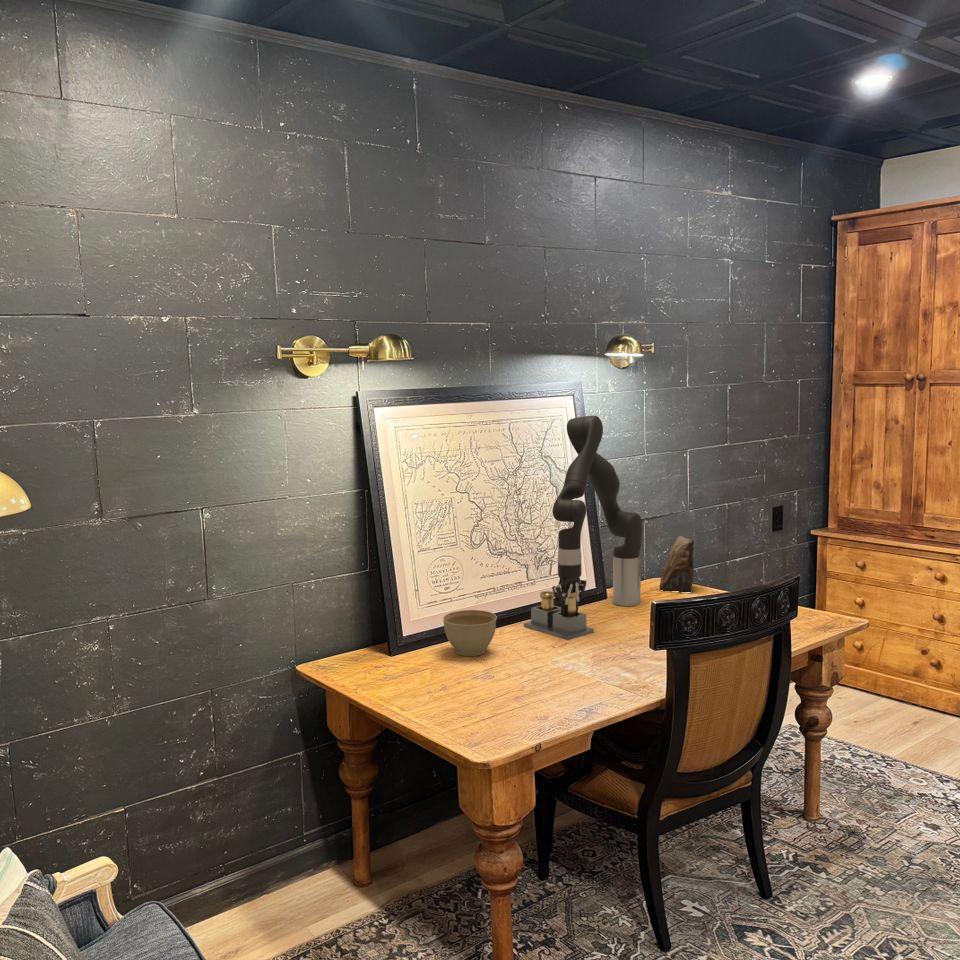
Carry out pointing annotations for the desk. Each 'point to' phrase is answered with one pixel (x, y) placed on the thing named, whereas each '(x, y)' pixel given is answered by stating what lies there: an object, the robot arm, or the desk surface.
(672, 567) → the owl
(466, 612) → the planter bowl
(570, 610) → the brass stub
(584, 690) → the desk surface
